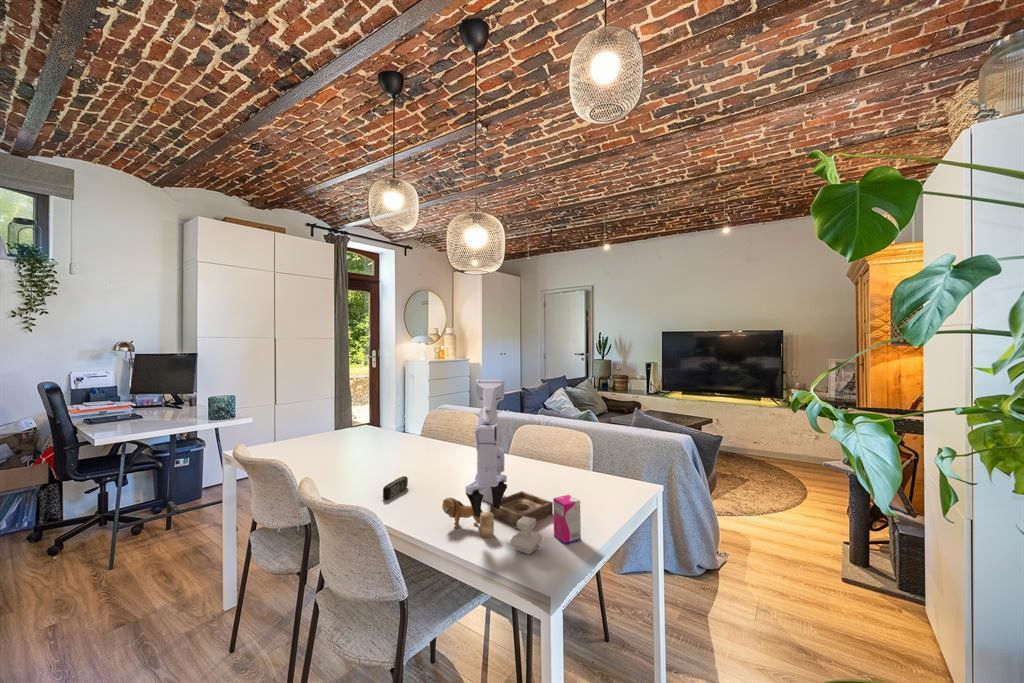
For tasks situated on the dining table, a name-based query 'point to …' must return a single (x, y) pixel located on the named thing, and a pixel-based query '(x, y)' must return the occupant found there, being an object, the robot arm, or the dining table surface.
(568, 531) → the supplement box
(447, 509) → the tan animal figurine
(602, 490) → the dining table surface
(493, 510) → the walnut box
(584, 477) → the dining table surface
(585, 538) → the dining table surface
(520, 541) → the stamp
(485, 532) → the oak dowel
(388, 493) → the mobile phone
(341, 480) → the dining table surface
